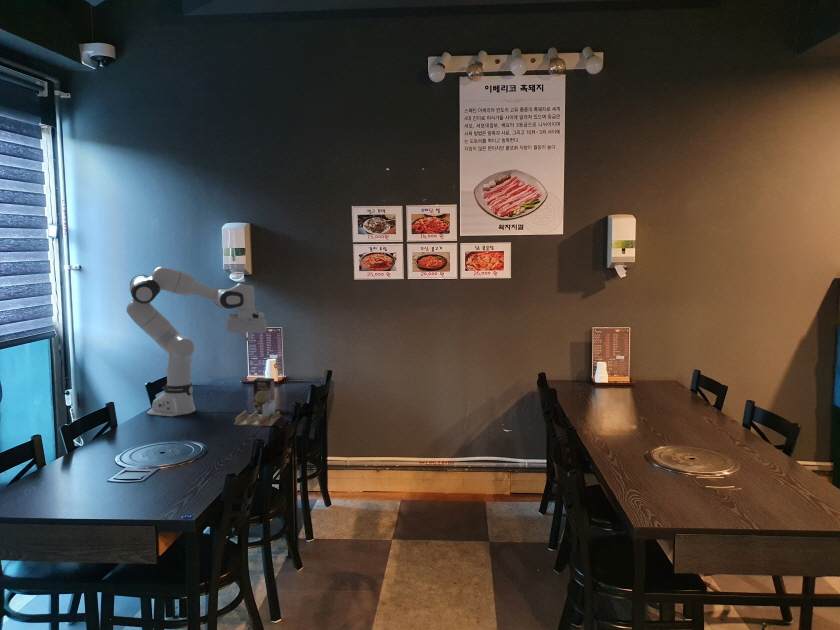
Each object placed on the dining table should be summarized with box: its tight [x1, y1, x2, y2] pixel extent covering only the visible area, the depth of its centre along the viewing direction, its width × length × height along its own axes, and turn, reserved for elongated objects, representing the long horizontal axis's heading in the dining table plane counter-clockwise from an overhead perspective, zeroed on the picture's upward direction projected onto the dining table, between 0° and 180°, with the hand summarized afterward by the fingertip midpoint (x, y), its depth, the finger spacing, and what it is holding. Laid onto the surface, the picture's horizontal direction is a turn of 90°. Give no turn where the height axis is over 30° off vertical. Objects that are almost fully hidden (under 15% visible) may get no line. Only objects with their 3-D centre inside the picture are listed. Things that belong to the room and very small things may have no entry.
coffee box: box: [253, 377, 276, 413], centre depth 300 cm, size 9×6×16 cm
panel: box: [261, 399, 276, 420], centre depth 282 cm, size 3×10×8 cm, turn 177°
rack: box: [233, 410, 282, 427], centre depth 282 cm, size 17×15×3 cm
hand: (247, 340), depth 306 cm, fingers closed
